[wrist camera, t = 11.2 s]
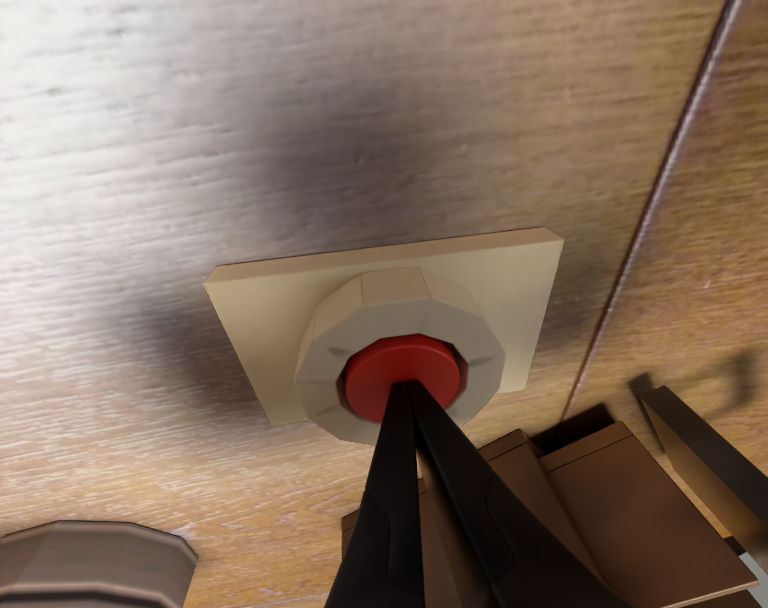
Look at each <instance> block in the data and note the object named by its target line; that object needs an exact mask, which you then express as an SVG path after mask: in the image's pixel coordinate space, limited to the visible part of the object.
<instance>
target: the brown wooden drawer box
mask: <svg viewBox="0 0 768 608" xmlns="http://www.w3.org/2000/svg"><path fill="white" fill-rule="evenodd" d="M478 451H479V452H480V453H481V455H482V456H483V457H484V458H485V460H486V461H487V462H488V463H489V464H490V466H491V467H492V468H493V470H495V471H496V473H497V474H498V475H499V476H500V477H501V479H502V480H503V481H504V482H505V483H506V484H507V486H508V487H509V488H510V489H511V490H512V491H513V492H514V494H515V495H516V496H517V497H518V498H519V499H520V500H521V501H522V503H523V504H524V505H525V506H526V507H527V508H528V509H529V510H530V511H531V512H532V513H533V514H534V515H535V516H536V517H537V518H538V519H539V520H540V521H541V522H542V523H543V524H544V525H545V526H546V527H547V528H548V529H549V530H550V531H551V532H552V533H553V534H554V535H555V536H556V537H557V538H558V539H559V540H560V541H561V542H562V543H563V544H564V545H565V546H566V547H567V548H568V549H569V550H570V551H571V552H572V553H573V554H574V555H575V556H576V557H577V558H578V559H579V560H580V561H581V562H582V563H583V564H584V565H585V566H586V567H587V568H588V569H589V570H590V571H592V572H593V573H594V574H595V575H596V576H597V577H598V578H599V579H600V580H601V581H602V582H604V580H603V578H602V577H601V575H600V573H599V571H598V569H597V567H596V565H595V564H594V562H593V560H592V558H591V556H590V554H589V552H588V551H587V549H586V547H585V545H584V543H583V541H582V539H581V538H580V536H579V534H578V532H577V530H576V528H575V526H574V525H573V523H572V521H571V519H570V517H569V515H568V513H567V512H566V510H565V508H564V506H563V504H562V502H561V500H560V498H559V497H558V495H557V493H556V491H555V489H554V487H553V485H552V484H551V482H550V480H549V478H548V476H547V474H546V472H545V471H544V469H543V467H542V465H541V463H540V461H539V458H542V457H544V456H546V455H545V454H544V453H543V452H542V451H541V450H540V449H539V448H538V447H537V446H536V445H535V444H534V443H533V442H532V441H531V440H530V439H529V438H528V437H527V436H526V435H525V434H524V433H523V432H522V431H521V430H520V429H519V430H517V431H515V432H513V433H511V434H509V435H507V436H505V437H503V438H501V439H499V440H497V441H495V442H493V443H491V444H489V445H487V446H485V447H483V448H481V449H479V450H478ZM493 470H492V471H493ZM418 492H419V508H420V524H421V540H422V557H423V573H424V589H425V605H426V608H462V606H461V603H460V599H459V596H458V593H457V589H456V586H455V582H454V579H453V576H452V572H451V569H450V566H449V562H448V559H447V556H446V552H445V549H444V546H443V542H442V539H441V536H440V532H439V529H438V525H437V522H436V519H435V515H434V512H433V509H432V505H431V502H430V499H429V495H428V492H427V489H426V485H425V482H424V479H423V478H422V479H420V480H418ZM357 515H358V511H357V512H355V513H353V514H351V515H349V516H347V517H345V518H343V519H342V532H343V533H342V559H343V557H344V554H345V551H346V548H347V546H348V543H349V540H350V537H351V534H352V531H353V528H354V525H355V522H356V518H357ZM604 583H605V582H604Z"/></svg>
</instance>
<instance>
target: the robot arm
mask: <svg viewBox="0 0 768 608" xmlns="http://www.w3.org/2000/svg"><path fill="white" fill-rule="evenodd" d="M416 454H417V458H418V462H419V465H420V469H421V472H422V475H423V479H424V482H425V485H426V489H427V492H428V495H429V499H430V502H431V505H432V509H433V512H434V515H435V519H436V522H437V525H438V529H439V532H440V536H441V539H442V542H443V546H444V549H445V552H446V556H447V559H448V562H449V566H450V569H451V572H452V576H453V579H454V582H455V586H456V589H457V593H458V596H459V599H460V603H461V606H462V608H637V607H636V606H634V605H633V604H631V603H630V602H628V601H627V600H625V599H624V598H623V597H621V596H620V595H618V594H617V593H616V592H614V591H613V590H612V589H611V588H610V587H608V586H607V585H606V584H605V583H604V582H602V581H601V580H600V579H599V578H598V577H597V576H596V575H595V574H594V573H593V572H592V571H590V570H589V569H588V568H587V567H586V566H585V565H584V564H583V563H582V562H581V561H580V560H579V559H578V558H577V557H576V556H575V555H574V554H573V553H572V552H571V551H570V550H569V549H568V548H567V547H566V546H565V545H564V544H563V543H562V542H561V541H560V540H559V539H558V538H557V537H556V536H555V535H554V534H553V533H552V532H551V531H550V530H549V529H548V528H547V527H546V526H545V525H544V524H543V523H542V522H541V521H540V520H539V519H538V518H537V517H536V516H535V515H534V514H533V513H532V512H531V511H530V510H529V509H528V508H527V507H526V506H525V505H524V504H523V503H522V501H521V500H520V499H519V498H518V497H517V496H516V495H515V494H514V492H513V491H512V490H511V489H510V488H509V487H508V486H507V484H506V483H505V482H504V481H503V480H502V479H501V477H500V476H499V475H498V474H497V473H496V471H495V470H493V468H492V467H491V466H490V464H489V463H488V462H487V461H486V460H485V458H484V457H483V456H482V455H481V453H480V452H479V451H478V450H477V449H476V447H475V446H474V445H473V444H472V443H471V441H470V440H469V439H468V438H467V437H466V435H465V434H464V433H463V432H462V431H461V429H460V428H459V427H458V426H457V425H456V423H455V422H454V421H453V420H452V419H451V417H450V416H449V415H448V414H447V413H446V411H445V410H444V409H443V408H442V407H441V405H440V404H439V403H438V402H437V401H436V399H435V398H434V397H433V396H432V395H431V393H430V392H429V391H428V390H427V389H426V387H425V386H424V385H423V384H422V383H421V381H420V380H418V379H414V380H408V381H406V383H405V382H404V381H400V382H394V383H392V385H391V389H390V393H389V397H388V400H387V404H386V408H385V412H384V416H383V420H382V424H381V427H380V431H379V435H378V439H377V443H376V447H375V451H374V455H373V458H372V462H371V466H370V470H369V474H368V478H367V482H366V486H365V491H364V493H363V497H362V500H361V504H360V508H359V511H358V515H357V518H356V522H355V525H354V528H353V531H352V534H351V537H350V540H349V543H348V546H347V548H346V551H345V554H344V557H343V559H342V562H341V564H340V567H339V570H338V572H337V575H336V578H335V580H334V583H333V585H332V588H331V591H330V593H329V596H328V599H327V601H326V604H325V606H324V608H426V605H425V589H424V573H423V557H422V540H421V524H420V508H419V492H418V476H417V460H416ZM492 470H493V471H492Z"/></svg>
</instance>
